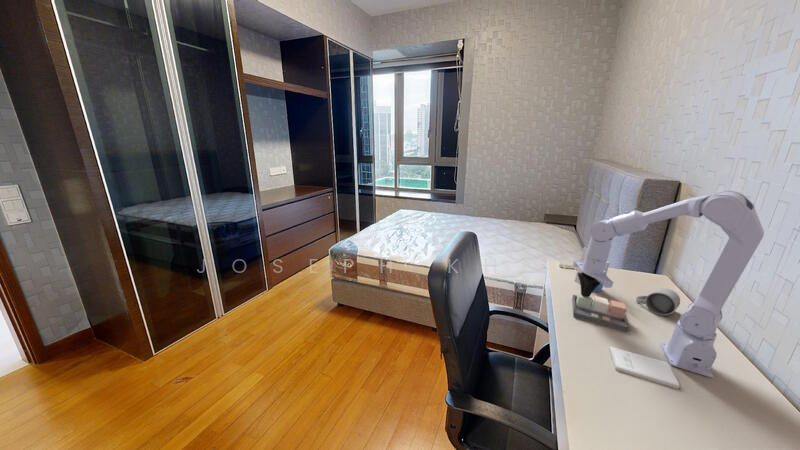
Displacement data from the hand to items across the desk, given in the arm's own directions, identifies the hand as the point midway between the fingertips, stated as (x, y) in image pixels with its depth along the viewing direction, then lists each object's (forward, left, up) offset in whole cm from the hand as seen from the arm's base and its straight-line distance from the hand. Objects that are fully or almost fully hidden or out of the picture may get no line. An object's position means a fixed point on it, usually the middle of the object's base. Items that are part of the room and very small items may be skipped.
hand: (585, 295), depth 95 cm
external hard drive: (-21, -12, -6) cm, 25 cm away
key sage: (0, 0, -3) cm, 3 cm away
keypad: (0, -5, -5) cm, 7 cm away
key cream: (0, -5, -3) cm, 6 cm away
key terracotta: (0, -9, -3) cm, 10 cm away
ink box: (+20, -3, -6) cm, 21 cm away
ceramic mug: (+14, -22, -6) cm, 27 cm away
